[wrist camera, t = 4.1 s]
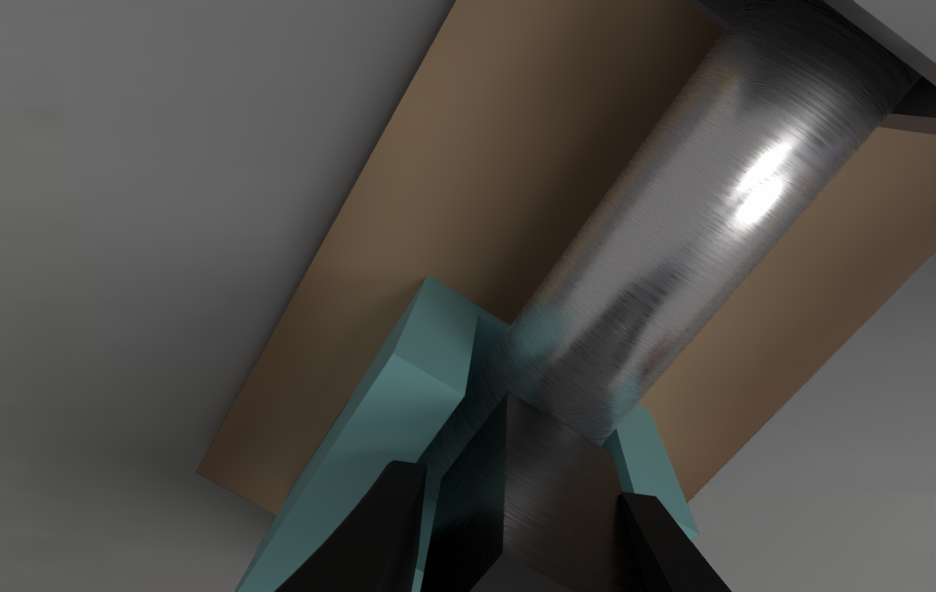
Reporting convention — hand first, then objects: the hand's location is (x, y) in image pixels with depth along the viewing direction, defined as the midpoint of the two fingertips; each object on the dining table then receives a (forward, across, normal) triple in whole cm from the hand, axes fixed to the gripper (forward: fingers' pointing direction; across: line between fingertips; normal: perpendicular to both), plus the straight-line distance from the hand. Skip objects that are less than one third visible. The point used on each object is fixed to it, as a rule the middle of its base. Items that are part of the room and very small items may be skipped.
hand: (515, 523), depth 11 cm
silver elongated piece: (+4, -2, -5) cm, 7 cm away
